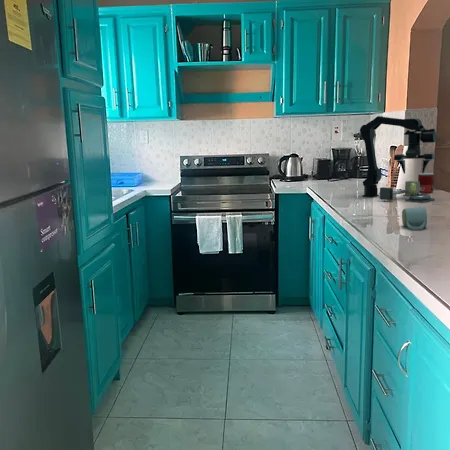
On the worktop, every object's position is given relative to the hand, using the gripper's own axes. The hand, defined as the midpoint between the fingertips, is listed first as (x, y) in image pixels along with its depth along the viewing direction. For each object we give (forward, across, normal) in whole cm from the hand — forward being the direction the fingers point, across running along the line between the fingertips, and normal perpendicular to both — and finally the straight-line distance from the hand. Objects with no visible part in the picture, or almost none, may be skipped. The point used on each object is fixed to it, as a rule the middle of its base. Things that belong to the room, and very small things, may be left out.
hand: (413, 173), depth 240 cm
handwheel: (+12, +5, -8) cm, 15 cm away
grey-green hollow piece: (+13, -2, +8) cm, 15 cm away
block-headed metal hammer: (+12, -7, -7) cm, 16 cm away
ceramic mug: (+14, +18, -74) cm, 77 cm away
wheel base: (+13, +5, -8) cm, 16 cm away
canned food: (+13, +1, +23) cm, 27 cm away
